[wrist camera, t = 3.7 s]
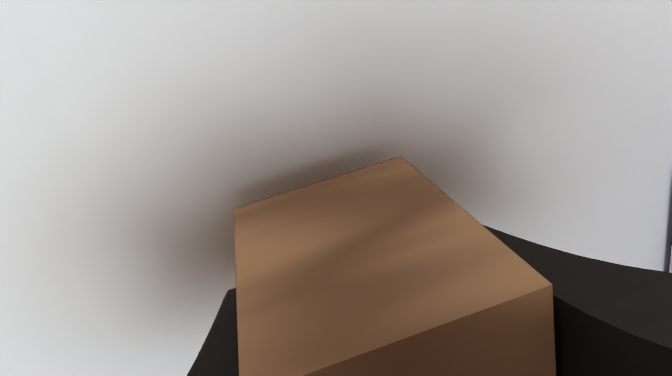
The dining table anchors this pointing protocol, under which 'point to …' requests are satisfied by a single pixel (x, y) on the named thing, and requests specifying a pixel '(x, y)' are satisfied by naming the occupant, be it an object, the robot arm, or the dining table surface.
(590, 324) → the robot arm
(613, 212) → the dining table surface
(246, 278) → the walnut block
